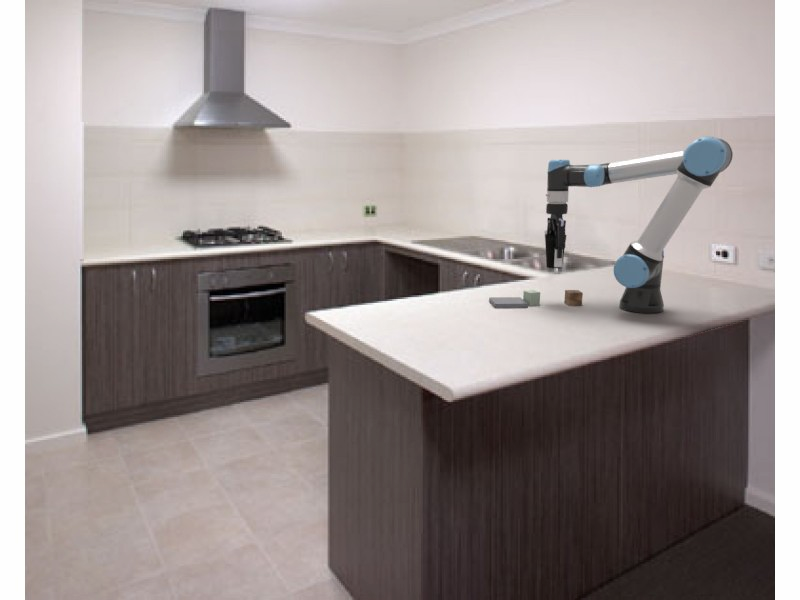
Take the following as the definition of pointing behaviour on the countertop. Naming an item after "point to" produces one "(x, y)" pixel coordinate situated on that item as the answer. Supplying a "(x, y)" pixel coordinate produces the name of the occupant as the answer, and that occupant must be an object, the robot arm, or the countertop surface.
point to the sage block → (532, 297)
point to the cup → (551, 250)
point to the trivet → (508, 302)
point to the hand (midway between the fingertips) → (554, 265)
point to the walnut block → (573, 297)
